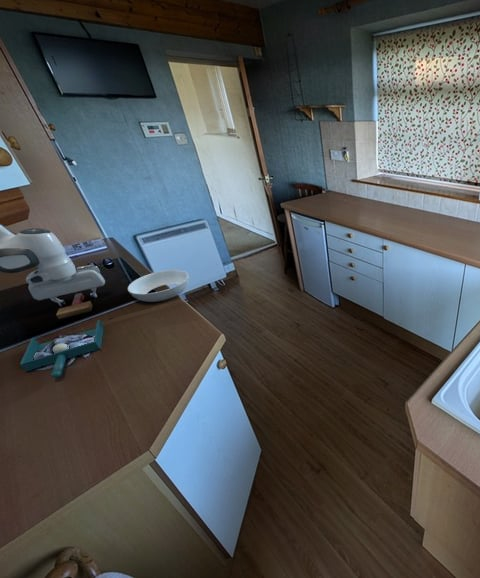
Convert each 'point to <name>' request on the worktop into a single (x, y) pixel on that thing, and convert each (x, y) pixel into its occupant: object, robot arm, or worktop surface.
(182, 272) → the serving bowl
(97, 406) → the worktop surface
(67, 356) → the dustpan
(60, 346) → the paper wad
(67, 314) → the brush
